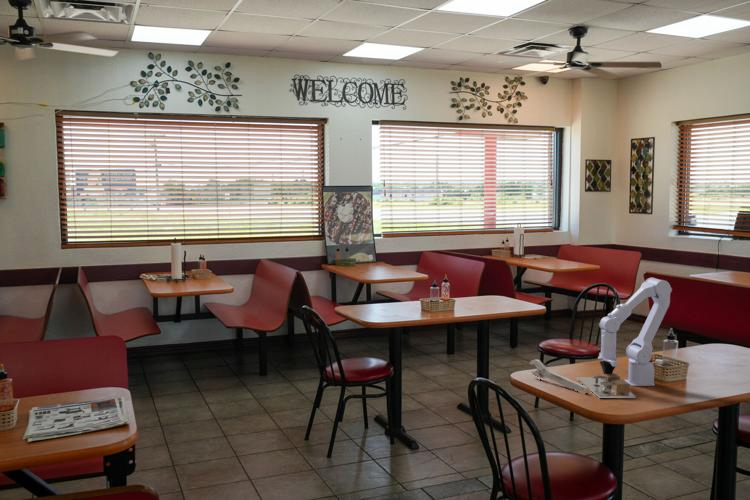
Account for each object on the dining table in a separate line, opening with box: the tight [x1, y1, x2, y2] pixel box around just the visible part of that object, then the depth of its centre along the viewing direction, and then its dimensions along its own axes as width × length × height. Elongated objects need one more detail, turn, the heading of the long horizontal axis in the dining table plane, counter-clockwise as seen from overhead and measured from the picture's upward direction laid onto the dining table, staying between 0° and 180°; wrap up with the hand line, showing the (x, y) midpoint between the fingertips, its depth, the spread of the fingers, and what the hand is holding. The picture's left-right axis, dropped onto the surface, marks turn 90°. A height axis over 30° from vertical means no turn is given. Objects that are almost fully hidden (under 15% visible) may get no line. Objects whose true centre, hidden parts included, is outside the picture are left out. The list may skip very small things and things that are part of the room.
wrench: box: [529, 359, 590, 394], centre depth 275 cm, size 8×2×30 cm
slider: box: [591, 373, 621, 386], centre depth 271 cm, size 10×5×4 cm, turn 92°
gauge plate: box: [576, 376, 636, 399], centre depth 270 cm, size 14×26×5 cm, turn 2°
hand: (607, 379), depth 275 cm, fingers closed
